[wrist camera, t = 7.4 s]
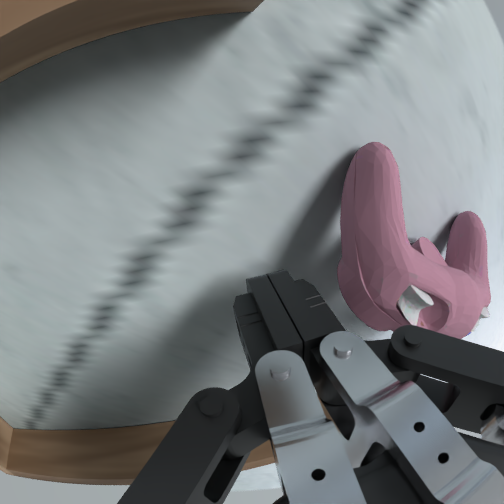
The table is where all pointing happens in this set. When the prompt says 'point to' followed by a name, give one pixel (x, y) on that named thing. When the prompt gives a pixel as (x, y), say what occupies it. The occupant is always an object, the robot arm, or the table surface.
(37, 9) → the wooden u-shaped frame
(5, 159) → the table surface
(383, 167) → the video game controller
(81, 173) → the table surface
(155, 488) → the robot arm
